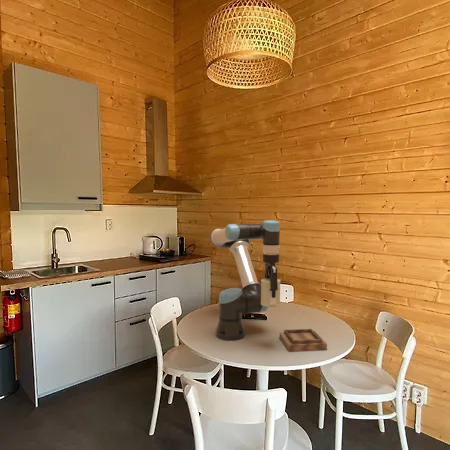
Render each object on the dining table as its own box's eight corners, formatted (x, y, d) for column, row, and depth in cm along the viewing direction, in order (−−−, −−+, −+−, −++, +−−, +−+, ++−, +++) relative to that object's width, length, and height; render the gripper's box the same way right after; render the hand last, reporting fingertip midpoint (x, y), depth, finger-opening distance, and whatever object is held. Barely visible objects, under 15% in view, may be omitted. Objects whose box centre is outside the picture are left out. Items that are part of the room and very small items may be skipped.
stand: (288, 351, 158) (289, 342, 158) (279, 338, 174) (279, 329, 173) (326, 349, 160) (327, 340, 160) (314, 336, 176) (314, 327, 175)
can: (278, 301, 168) (278, 276, 167) (282, 307, 158) (282, 281, 158) (259, 301, 167) (259, 277, 166) (262, 307, 158) (262, 281, 157)
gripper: (285, 257, 151) (284, 307, 153) (273, 250, 172) (272, 294, 174) (268, 257, 150) (268, 308, 152) (258, 250, 171) (257, 295, 173)
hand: (270, 301), depth 163 cm, fingers closed on can, 9 cm apart
